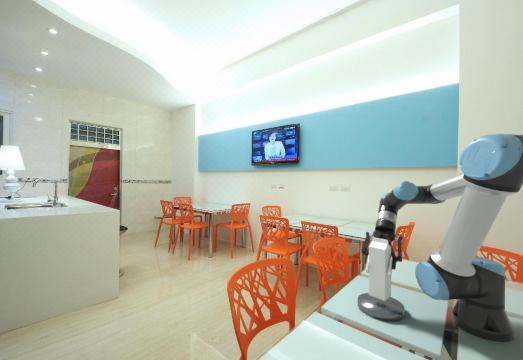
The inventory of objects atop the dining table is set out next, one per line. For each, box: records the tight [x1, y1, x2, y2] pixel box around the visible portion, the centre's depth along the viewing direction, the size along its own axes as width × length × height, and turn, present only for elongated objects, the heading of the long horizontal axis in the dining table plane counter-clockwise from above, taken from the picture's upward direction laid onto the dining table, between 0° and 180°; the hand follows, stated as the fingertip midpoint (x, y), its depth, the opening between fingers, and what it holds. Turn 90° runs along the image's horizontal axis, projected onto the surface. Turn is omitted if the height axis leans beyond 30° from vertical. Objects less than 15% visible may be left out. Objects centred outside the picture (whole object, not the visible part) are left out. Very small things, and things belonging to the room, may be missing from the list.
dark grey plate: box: [357, 292, 406, 322], centre depth 90 cm, size 16×16×2 cm
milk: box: [368, 236, 392, 301], centre depth 91 cm, size 6×6×22 cm
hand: (378, 273), depth 88 cm, fingers closed on milk, 7 cm apart
